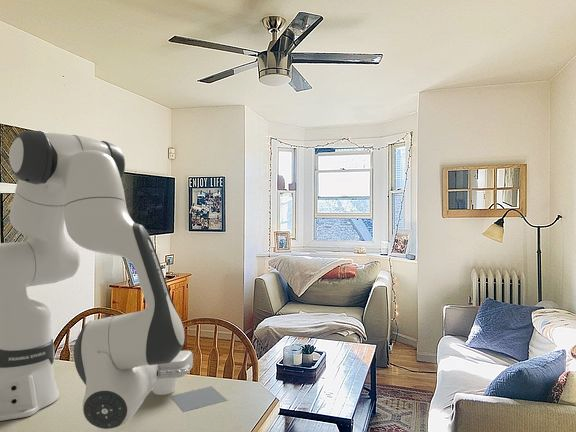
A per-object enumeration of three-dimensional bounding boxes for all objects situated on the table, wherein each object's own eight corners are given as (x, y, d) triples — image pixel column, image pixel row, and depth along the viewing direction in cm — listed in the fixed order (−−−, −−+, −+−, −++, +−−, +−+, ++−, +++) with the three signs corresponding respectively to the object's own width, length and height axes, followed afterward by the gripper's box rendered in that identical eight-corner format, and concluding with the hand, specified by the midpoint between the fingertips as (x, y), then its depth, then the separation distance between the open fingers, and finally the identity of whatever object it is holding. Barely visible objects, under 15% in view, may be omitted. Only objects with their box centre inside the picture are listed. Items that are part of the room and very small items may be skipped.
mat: (183, 413, 98) (183, 411, 98) (169, 397, 107) (169, 396, 107) (227, 401, 104) (227, 400, 104) (211, 387, 113) (211, 386, 113)
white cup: (170, 398, 107) (170, 370, 106) (145, 396, 108) (144, 368, 108) (182, 387, 113) (182, 360, 113) (158, 385, 115) (158, 359, 115)
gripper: (187, 357, 86) (198, 337, 100) (82, 360, 85) (108, 339, 99) (187, 388, 86) (198, 364, 100) (83, 391, 85) (108, 366, 99)
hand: (153, 352), depth 100 cm, fingers open, 8 cm apart
